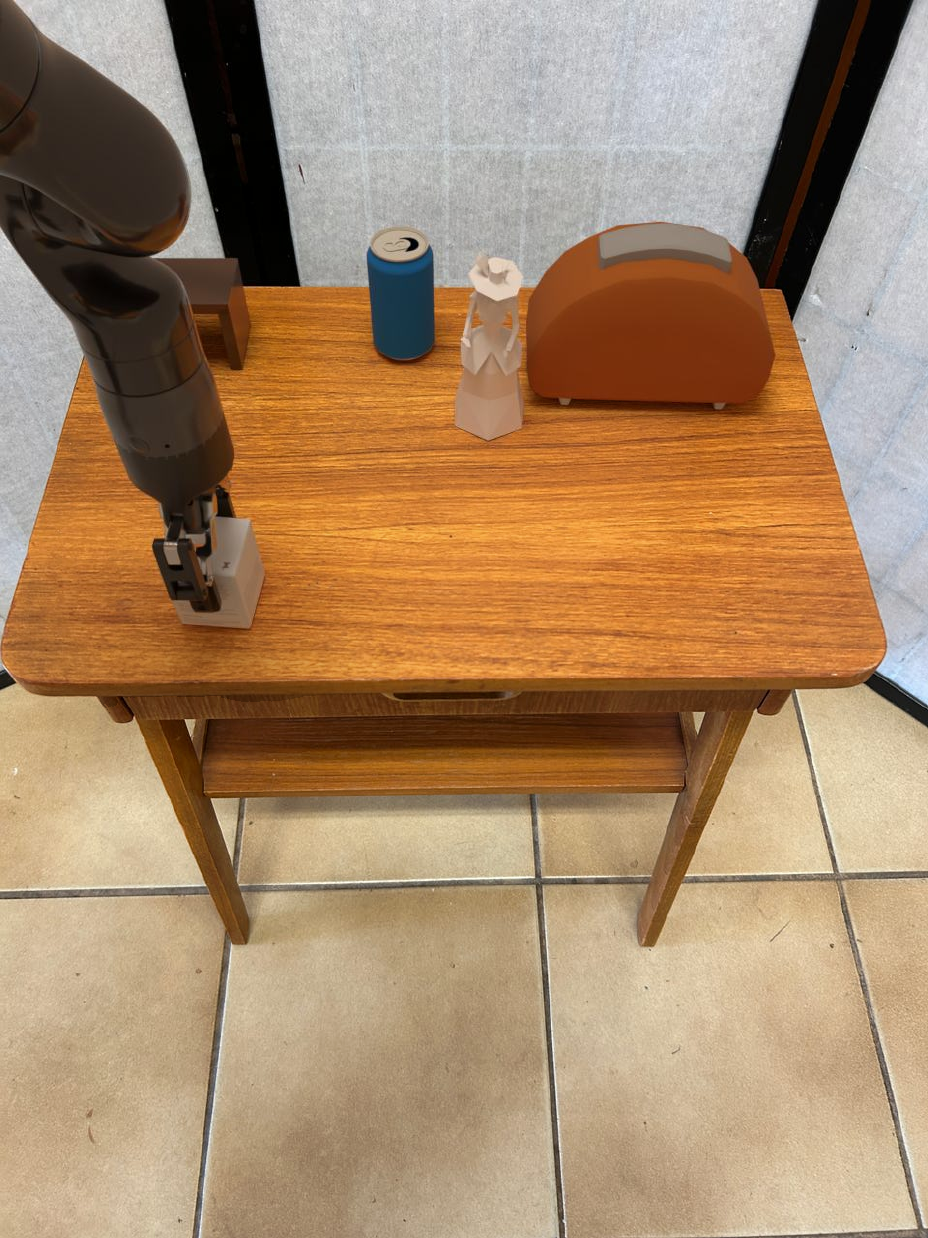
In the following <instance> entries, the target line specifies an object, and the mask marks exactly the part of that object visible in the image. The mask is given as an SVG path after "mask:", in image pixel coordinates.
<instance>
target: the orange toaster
mask: <svg viewBox="0 0 928 1238" xmlns="http://www.w3.org/2000/svg"><path fill="white" fill-rule="evenodd" d="M525 318H526V319H525V332H526V333H525V344H526V345H525V347H526V350H525V351H526V352H525V353H526V354H525V355H526V359H525V360H526V361H525V362H526V363H525V364H526V375H527V381H528V385H529V388H530V389H531V391H533V392H535V393H536V394H538V395H539V396H541V397H542V398H553V399H558V400H559V401H558V402H559V404H560V405H561V406H569V404H571V400H597V401H598V400H602V401H603V400H604V401H634V402H635V401H640V402H667V403H668V402H670V403H671V402H673V403H676V402H677V403H702V404H703V403H705V404H707V403H708V404H712V405H713V410H723V409H724V406H725V405H726V404H743V403H746V402H748V401H750V400H752V399H755V398H757V397H758V396H759V395H760V394H761V393H762V391H763V389H764V388H765V386H766V385H767V382H768V381H769V378H770V375H771V372H772V369H773V366H774V362H775V358H776V351H775V347H774V343H773V338H772V334H771V330H770V326H769V322H768V317H767V314H766V310H765V306H764V301H763V298H762V292H761V290H760V285H759V281H758V278H757V276H756V274H755V272H754V270H753V268H752V266H751V263H750V262H749V260H748V257H746V256H745V255H744V254H743V253H742V252H741V251H739V250H738V249H737V248H736V247H734V246H733V245H732V244H731V243H730V242H729V240H728V238H726V236H722V235H720V234H717V233H714V232H712V231H710V230H707V229H706V228H704V227H700V226H694V225H687V224H681V223H680V224H679V223H673V222H665V221H652V222H643V223H642V222H639V223H629V224H618V225H614V226H612V227H610V228H608V229H605V230H602V231H600V232H597V233H594V234H593V235H590V236H588V237H587V238H585V239H583V240H582V241H580V242H578V243H576V244H575V245H573V246H571V247H570V248H568V249H566V250H564V252H562V254H561V255H560V256H559V257H558V258H557V259H556V260H555V261H554V262H553V263H552V264H551V265H550V266H549V267H548V268H547V270H546V271H545V272H544V274H542V277H541V279H540V280H539V282H538V283H537V285H536V286H535V288H534V290H533V292H532V293H531V295H530V296H529V298H528V302H527V311H526V317H525Z"/></svg>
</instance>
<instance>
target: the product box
mask: <svg viewBox="0 0 928 1238" xmlns="http://www.w3.org/2000/svg"><path fill="white" fill-rule="evenodd" d="M215 527H216V540H217V550H216V552H215V553H213V554H212V555H211V561H212V574H213V577H214V580H215V583H216V586H217V589H218V592H219V595H220V598H221V601H222V604H221V610H220V611H218V612H214V613H196V612H195V611H194V610H193V609H192V607H191V604H190V602H189V600H171V603H172V605H173V607H174V609H175V612H176V614H177V616H178V618H179V620H180V623H181V624H182V625H191V626H192V625H193V626H205V627H221V628H234V629H236V628H237V629H251V628H252V624H253V620H254V617H255V613H256V609H257V606H258V603H259V599H260V595H261V591H262V588H263V584H264V580H265V577H266V572H265V568H264V565H263V561H262V557H261V552H260V549H259V545H258V541H257V538H256V534H255V531H254V527H253V523H252V521H251V519H250V518H239V517H236V518H227V517H215ZM186 538H191V540H192V542H193V543H205V533H204V534H200V535H186ZM197 558H198V561H199V564H200V568H201V559H200V558H199V557H197ZM201 570H202V568H201ZM158 572H159V574H160V576H161V579H162V581H163V582H164V580H163V578H162V575H161V572H160V569H159V568H158Z"/></svg>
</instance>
